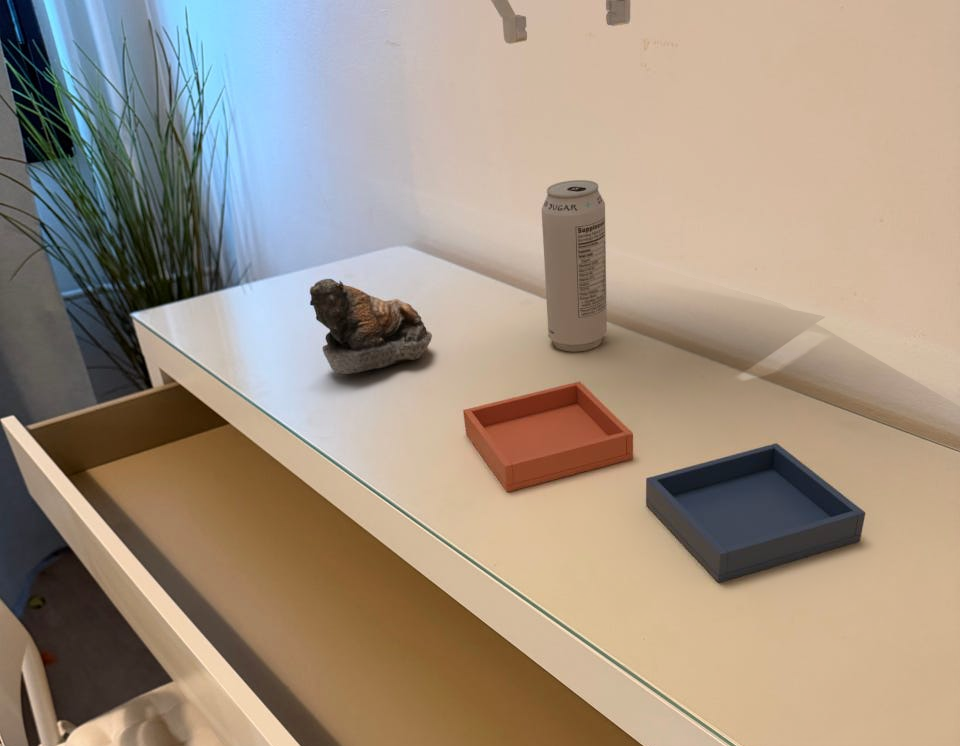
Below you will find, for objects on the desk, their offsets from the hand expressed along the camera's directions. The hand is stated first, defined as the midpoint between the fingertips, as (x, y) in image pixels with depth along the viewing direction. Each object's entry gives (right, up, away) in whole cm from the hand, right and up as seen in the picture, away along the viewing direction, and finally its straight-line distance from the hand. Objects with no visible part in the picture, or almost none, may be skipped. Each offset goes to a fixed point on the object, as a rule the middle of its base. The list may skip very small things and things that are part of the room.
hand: (567, 33), depth 79 cm
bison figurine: (-18, -23, +18) cm, 34 cm away
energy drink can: (+3, -21, +18) cm, 28 cm away
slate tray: (+12, -43, -10) cm, 46 cm away
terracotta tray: (-2, -35, +2) cm, 35 cm away
